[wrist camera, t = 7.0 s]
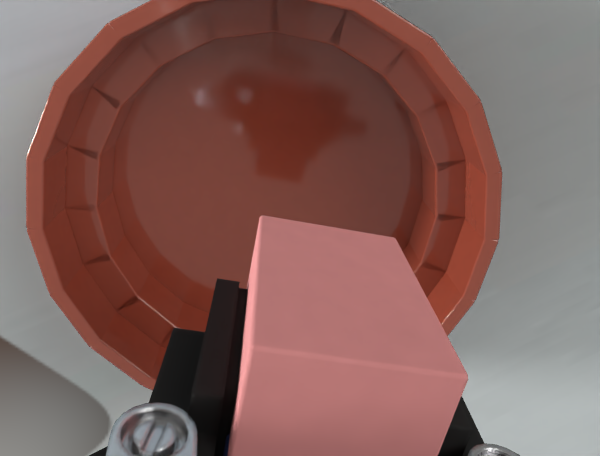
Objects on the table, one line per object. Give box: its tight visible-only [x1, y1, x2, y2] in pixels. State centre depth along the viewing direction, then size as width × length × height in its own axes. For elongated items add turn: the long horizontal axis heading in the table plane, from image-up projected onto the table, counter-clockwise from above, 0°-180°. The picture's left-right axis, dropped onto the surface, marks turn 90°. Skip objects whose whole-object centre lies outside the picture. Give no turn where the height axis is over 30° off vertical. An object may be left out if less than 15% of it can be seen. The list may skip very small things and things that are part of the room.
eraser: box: [223, 215, 468, 456], centre depth 11 cm, size 6×3×5 cm, turn 169°
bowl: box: [26, 0, 502, 390], centre depth 21 cm, size 17×17×5 cm
